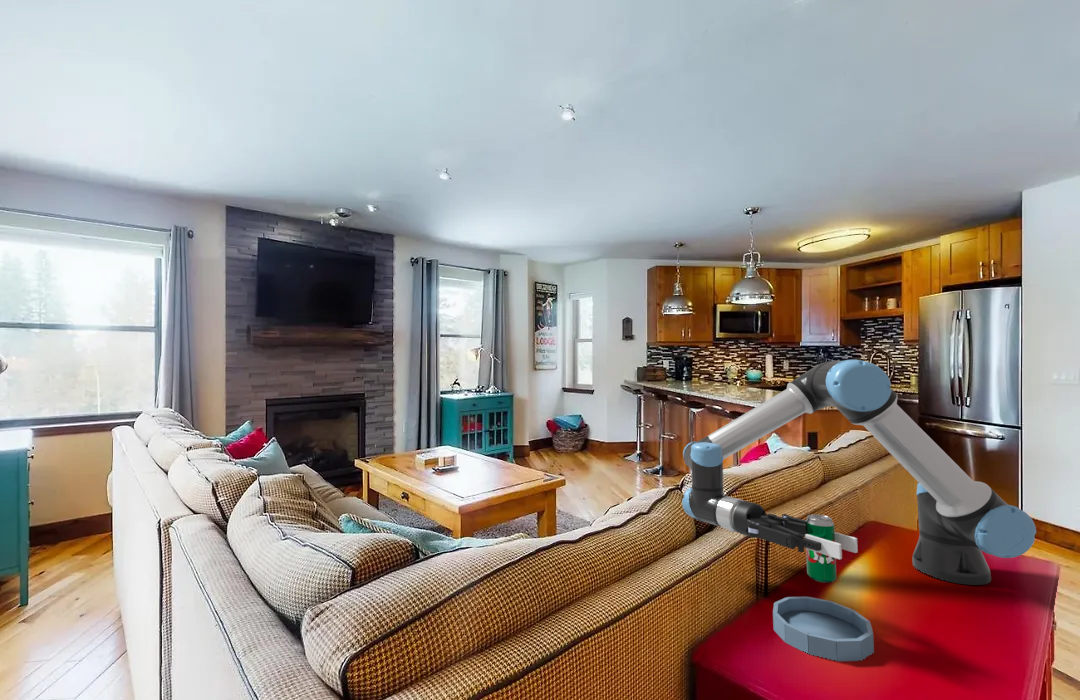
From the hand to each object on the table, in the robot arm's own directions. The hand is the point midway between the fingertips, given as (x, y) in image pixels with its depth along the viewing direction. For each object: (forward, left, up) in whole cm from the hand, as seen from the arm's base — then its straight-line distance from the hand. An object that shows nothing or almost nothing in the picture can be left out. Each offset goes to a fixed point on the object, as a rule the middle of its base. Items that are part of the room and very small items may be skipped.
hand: (848, 548), depth 90 cm
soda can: (0, -5, -8) cm, 9 cm away
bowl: (+1, -6, -18) cm, 19 cm away
